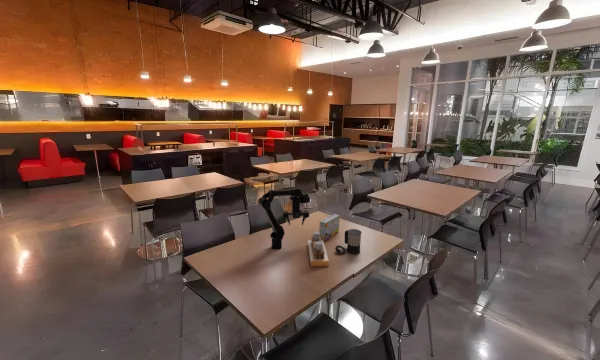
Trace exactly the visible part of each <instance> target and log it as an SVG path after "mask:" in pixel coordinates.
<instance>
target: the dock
mask: <svg viewBox="0 0 600 360" xmlns="http://www.w3.org/2000/svg"><path fill="white" fill-rule="evenodd" d="M321 241H322V245H323V248H324V259H322V258H321V259H318V255H317V259H315V258H314V253H313V247H312V239H309V240H307V248H308V254H309V261H310V266H311V267H329V266H330V260H329V258H328V257H329V256H328V253H327V249H326V246H325V241H323V240H321Z"/></svg>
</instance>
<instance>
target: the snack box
mask: <svg viewBox="0 0 600 360" xmlns="http://www.w3.org/2000/svg"><path fill="white" fill-rule="evenodd" d="M339 230H340V214H336V213H334V214H331V215H330V216H328V217H327V216H326V217H325V218H323V219H322V220H320V221H319V230H318V232H319V233H320V237H321V240H323V242H326V241H327V240H329V239H331V238H332V237H334V236H335V235H337V234H338V233H340V231H339Z"/></svg>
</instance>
